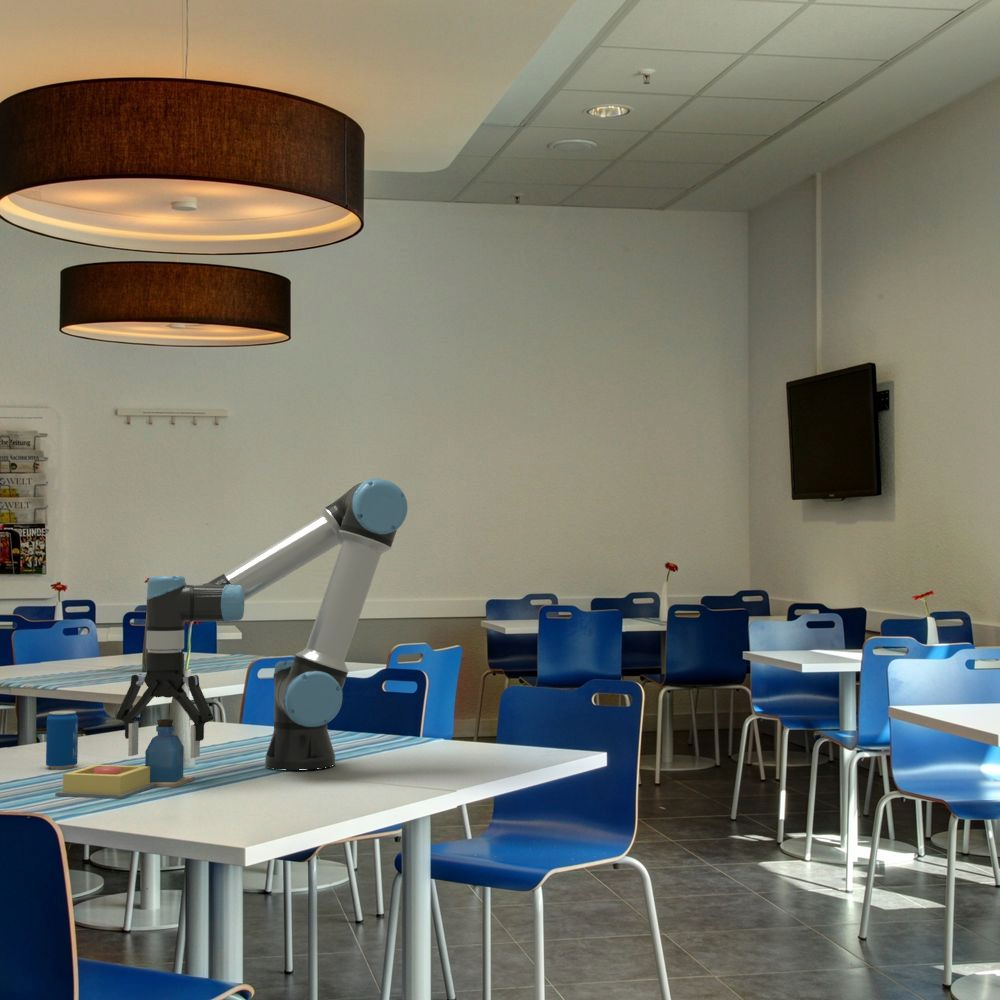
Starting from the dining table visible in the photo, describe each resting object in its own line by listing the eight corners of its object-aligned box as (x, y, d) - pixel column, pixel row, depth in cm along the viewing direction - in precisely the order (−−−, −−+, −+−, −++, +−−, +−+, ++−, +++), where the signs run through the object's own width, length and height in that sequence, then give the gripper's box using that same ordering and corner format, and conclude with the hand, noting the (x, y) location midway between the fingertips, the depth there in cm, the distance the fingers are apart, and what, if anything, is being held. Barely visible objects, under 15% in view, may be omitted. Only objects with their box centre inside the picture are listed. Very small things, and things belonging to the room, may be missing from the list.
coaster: (193, 779, 268) (193, 776, 268) (174, 787, 259) (174, 784, 259) (153, 778, 270) (153, 775, 270) (132, 785, 261) (132, 782, 261)
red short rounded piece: (125, 781, 257) (125, 766, 257) (112, 786, 252) (112, 770, 252) (102, 780, 258) (102, 765, 258) (88, 785, 253) (89, 769, 253)
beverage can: (67, 770, 280) (68, 714, 280) (40, 769, 281) (41, 713, 281) (82, 765, 286) (83, 710, 286) (56, 764, 287) (56, 710, 288)
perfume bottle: (175, 782, 261) (176, 722, 262) (145, 782, 261) (145, 722, 262) (183, 777, 267) (183, 718, 268) (153, 777, 267) (153, 718, 268)
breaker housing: (156, 786, 260) (156, 765, 260) (122, 798, 247) (122, 777, 247) (92, 783, 263) (93, 763, 263) (55, 795, 250) (55, 774, 250)
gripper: (230, 650, 267) (228, 755, 266) (118, 649, 272) (116, 751, 271) (214, 653, 259) (213, 760, 258) (100, 651, 264) (98, 756, 263)
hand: (163, 756), depth 265 cm, fingers open, 13 cm apart
